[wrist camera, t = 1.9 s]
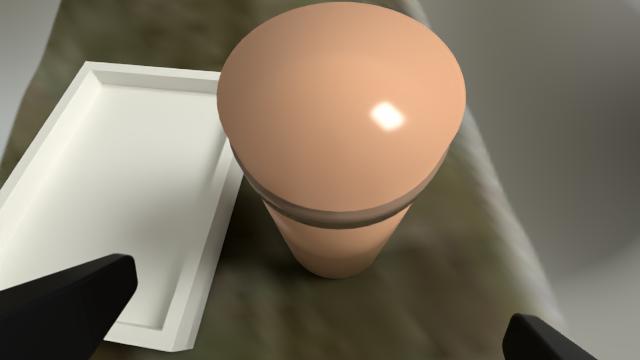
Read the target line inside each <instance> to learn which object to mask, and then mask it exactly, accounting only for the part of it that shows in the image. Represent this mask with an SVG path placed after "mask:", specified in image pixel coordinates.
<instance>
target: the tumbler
mask: <svg viewBox="0 0 640 360" xmlns="http://www.w3.org/2000/svg"><path fill="white" fill-rule="evenodd" d="M216 96H217V110H218V114H219V119H220V122H221V124H222V127H223V129H224V132H225V134H226V136H227V137H228V139H229V142H230V147H231V149H232V152H233V154H234V157H235V159H236V161H237V163H238V164H239V166H240V168H241V170H242V171H243V173H244V175H245V176H246V178H247V180H248V181H249V183H250V185H251V186H252V188H253V189H254V191H255V192H256V193H257V194H258V195H259V197H260V198H261V199H262V200H263V202H264V204H265V206H266V207H267V209H268V211H269V213H270V215H271V216H272V218H273V220H274V222H275V223H276V225H277V227H278V229H279V231H280V232H281V234H282V236H283V238H284V240H285V241H286V243H287V245H288V247H289V249H290V250H291V252H292V254H293V256H294V257H295V259H296V260H297V261H298V262H299V263H300V264H301V265H302V266H303V267H304V268H305V269H307V270H308V271H310V272H312V273H313V274H315V275H318V276H321V277H325V278H330V279H343V278H348V277H351V276H354V275H357V274H359V273H361V272H362V271H364V270H365V269H367V268H368V267H369V266H370V265H371V264H372V263H373V262H374V261H375V260H376V258H377V257H378V255H379V254H380V252H381V251H382V249H383V247H384V246H385V244H386V243H387V241H388V240H389V238H390V236H391V235H392V233H393V232H394V230H395V229H396V227H397V226H398V224H399V222H400V221H401V219H402V218H403V216H404V215H405V213H406V211H407V210H408V208H409V207H410V205H411V204H412V203H413V202H414V201H415V200H416V199H417V198H418V197H419V195H420V194H421V193H422V192H423V191H424V189H425V188H426V187H427V185H428V184H429V182H430V181H431V179H432V178H433V176H434V175H435V173H436V172H437V170H438V169H439V167H440V165H441V164H442V162H443V160H444V158H445V156H446V154H447V151H448V149H449V146H450V143H451V141H452V139H453V138H454V136H455V134H456V133H457V131H458V129H459V126H460V124H461V121H462V118H463V114H464V109H465V104H466V92H465V84H464V78H463V75H462V73H461V70H460V67H459V65H458V63H457V61H456V59H455V57H454V56H453V54H452V53H451V52H450V50H449V49H448V47H447V46H446V45H445V44H444V43H443V42H442V40H440V38H439V37H438V36H436V35H435V34H434V33H433V32H432V31H430V30H429V29H428V28H427V27H425V26H424V25H422V24H420V23H419V22H417V21H416V20H414V19H412V18H410V17H408V16H406V15H404V14H401V13H399V12H396V11H393V10H391V9H387V8H383V7H380V6H375V5H370V4H364V3H354V2H330V3H320V4H314V5H308V6H304V7H300V8H297V9H294V10H291V11H288V12H285V13H283V14H280V15H278V16H276V17H274V18H272V19H270V20H268V21H266V22H265V23H263V24H261V25H260V26H258V27H257V28H256V29H254V30H253V31H251V32H250V33H249V34H248V35H247V36H246V37H245V38H244V39H242V40H241V42H240V43H239V44H238V45H237V46H236V47H235V48H234V50H233V51H232V53H231V54H230V56H229V57H228V59H227V60H226V62H225V65H224V67H223V69H222V71H221V74H220V77H219V81H218V86H217V94H216Z"/></svg>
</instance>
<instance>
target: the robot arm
mask: <svg viewBox="0 0 640 360" xmlns="http://www.w3.org/2000/svg"><path fill="white" fill-rule="evenodd" d="M137 286H138V278H137V272H136V265H135V260H134V258H133V256H131V255H128V254H121V253H113V254H110V255H107V256H104V257H101V258H98V259H95V260H92V261H89V262H86V263H83V264H80V265H77V266H74V267H71V268H67V269H64V270H61V271H58V272H55V273H52V274H49V275H46V276H43V277H40V278H37V279H34V280H31V281H28V282H25V283H22V284H19V285H16V286H13V287H10V288H7V289H4V290H1V291H0V360H89V358H90V357H91V356H92V354H93V353H94V352H95V351H96V349H97V348H98V346H99V345H100V344H101V342H102V341H103V339H104V338H105V336H106V335H107V333H108V332H109V330H110V329H111V327H112V326H113V325H114V323H115V322H116V320H117V319H118V317H119V316H120V314H121V313H122V311H123V310H124V308H125V307H126V305H127V304H128V302H129V301H130V299H131V298H132V296H133V295H134V294H135V292H136V290H137ZM502 349H503V354H504V357H505V360H597V359H596V358H594V357H593V356H592V355H590V354H589V353H588V352H586V351H585V350H583V349H582V348H581V347H579V346H578V345H576V344H575V343H573V342H572V341H571V340H569V339H568V338H566V337H565V336H564V335H562V334H561V333H559V332H558V331H557V330H555V329H554V328H552V327H551V326H550V325H548V324H547V323H545V322H544V321H543V320H541V319H540V318H538V317H537V316H534V315H528V314H521V313H516V314H514V315H513V316H512V317H511V319H510V322H509V325H508V328H507V330H506V333H505V336H504V338H503V343H502Z"/></svg>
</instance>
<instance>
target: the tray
mask: <svg viewBox="0 0 640 360" xmlns="http://www.w3.org/2000/svg"><path fill="white" fill-rule="evenodd" d="M220 74H221V72H209V71H197V70H185V69H173V68H161V67H148V66H136V65H124V64H112V63H100V62H87V61H86V62H85V63H84V65H83V66H82V68H81V69H80V71H79V72H78V74H77V75H76V77H75V78H74V80H73V81H72V83H71V84H70V86H69V87H68V89H67V90H66V92H65V93H64V95H63V97H62V98H61V100H60V101H59V103H58V104H57V106H56V107H55V109H54V110H53V112H52V113H51V115H50V116H49V118H48V119H47V121H46V122H45V124H44V125H43V127H42V128H41V130H40V131H39V133H38V134H37V136H36V137H35V139H34V140H33V142H32V143H31V145H30V146H29V148H28V149H27V151H26V152H25V154H24V155H23V157H22V158H21V160H20V161H19V163H18V164H17V166H16V167H15V169H14V170H13V172H12V173H11V175H10V176H9V178H8V179H7V181H6V182H5V184H4V185H3V187H2V188H1V190H0V291H1V290H4V289H7V288H10V287H13V286H16V285H19V284H22V283H25V282H28V281H31V280H34V279H37V278H40V277H43V276H46V275H49V274H52V273H55V272H58V271H61V270H64V269H67V268H71V267H74V266H77V265H80V264H83V263H86V262H89V261H92V260H95V259H98V258H101V257H104V256H107V255H110V254H113V253H121V254H128V255H131V256H133V258H134V260H135V265H136V272H137V278H138V286H137V290H136V292H135V294H134V295H133V296H132V298H131V299H130V301H129V302H128V304H127V305H126V307H125V308H124V310H123V311H122V313H121V314H120V316H119V317H118V319H117V320H116V322H115V323H114V325H113V326H112V327H111V329H110V330H109V332H108V333H107V335H106V336H105V338H104V339H103V340H107V341H113V342H118V343H124V344H129V345H135V346H140V347H146V348H151V349H157V350H162V351H168V352H175V351H181V350H188V349H193V346H194V343H195V339H196V336H197V333H198V329H199V326H200V322H201V319H202V315H203V312H204V308H205V305H206V301H207V298H208V294H209V291H210V288H211V284H212V281H213V277H214V274H215V270H216V267H217V263H218V260H219V256H220V253H221V249H222V246H223V243H224V239H225V236H226V232H227V229H228V225H229V222H230V218H231V215H232V211H233V208H234V204H235V201H236V198H237V194H238V191H239V187H240V184H241V180H242V177H243V171H242V170H241V168H240V166H239V164H238V163H237V161H236V159H235V157H234V154H233V152H232V149H231V147H230V142H229V139H228V137H227V136H226V134H225V132H224V129H223V127H222V124H221V122H220V119H219V114H218V110H217V96H216V94H217V86H218V81H219V77H220Z"/></svg>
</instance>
